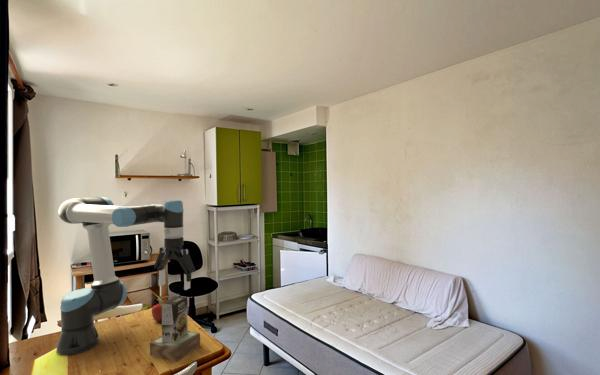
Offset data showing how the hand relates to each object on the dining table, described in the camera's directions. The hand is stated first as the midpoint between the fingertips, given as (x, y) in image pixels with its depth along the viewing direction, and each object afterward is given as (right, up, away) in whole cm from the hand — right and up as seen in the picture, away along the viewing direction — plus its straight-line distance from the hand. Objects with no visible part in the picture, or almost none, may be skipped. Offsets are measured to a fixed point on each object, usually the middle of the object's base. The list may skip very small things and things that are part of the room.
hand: (174, 287), depth 134 cm
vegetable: (-18, -27, +30) cm, 44 cm away
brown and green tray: (0, -27, 0) cm, 27 cm away
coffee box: (0, -22, 0) cm, 22 cm away
